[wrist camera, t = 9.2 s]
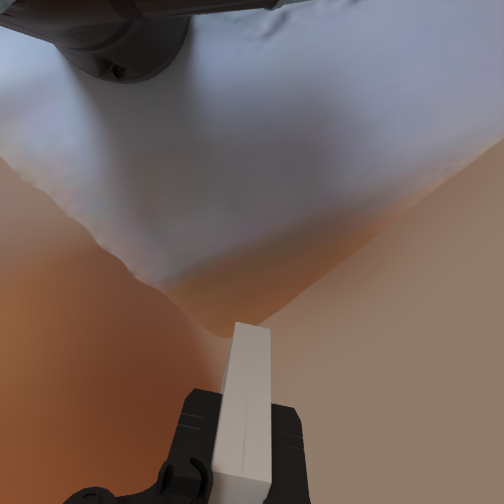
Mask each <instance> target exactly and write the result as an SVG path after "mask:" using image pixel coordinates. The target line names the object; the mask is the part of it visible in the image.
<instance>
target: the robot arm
mask: <svg viewBox="0 0 504 504" xmlns="http://www.w3.org/2000/svg"><path fill="white" fill-rule="evenodd" d="M304 1H310V0H0V26H2V27H5V28H8V29H11V30H14V31H17V32H20V33H23V34H26V35H29V36H32V37H35V38H38V39H41V40H44V41H47V42H50V43H53V44H54V46H55V47H56V48H57V49H58V50H59V51H60V52H61V53H62V54H63V55H64V56H65V57H66V58H67V59H68V60H69V61H70V62H71V63H72V64H74V65H75V66H76V67H78V68H79V69H81V70H83V71H84V72H86V73H88V74H90V75H92V76H94V77H97V78H100V79H103V80H107V81H111V82H116V83H126V84H128V83H137V82H142V81H145V80H148V79H150V78H152V77H154V76H156V75H157V74H159V73H160V72H162V71H163V70H164V69H165V68H166V67H167V66H168V65H169V64H170V63H171V62H172V61H173V60H174V58H175V57H176V55H177V54H178V52H179V50H180V48H181V46H182V44H183V42H184V39H185V36H186V33H187V29H188V23H189V16H193V15H202V14H212V13H221V12H230V11H240V10H249V9H259V8H264V9H265V10H268V11H269V10H270V11H273V10H275V9H277V8H280V7H282V6H283V5H285V4H291V3H298V2H304ZM270 346H271V345H270V329H268V328H264V327H259V326H255V325H250V324H245V323H241V322H236V323H235V328H234V332H233V336H232V340H231V344H230V349H229V352H228V356H227V361H226V365H225V369H224V374H223V380H222V385H221V391H220V394H219V393H215V392H210V391H205V390H200V389H196V388H194V390H193V391H192V392H191V393H190V394H189V395H188V396H187V397H186V399H185V401H184V405H183V408H182V412H181V415H180V418H179V422H178V425H177V428H176V432H175V435H174V439H173V442H172V445H171V449H170V452H169V455H168V458H167V460H166V461H165V462H164V463H163V465H162V467H161V469H160V471H159V475H158V480H157V482H156V483H155V484H154V485H152V486H151V487H150V488H148V489H146V490H145V491H143V492H140V493H136V494H133V495H126V496H121V497H115V496H114V495H113V494H112V493H111V492H110V491H109V490H107V489H104V488H100V487H90V488H84V489H82V490H80V491H78V492H76V493H75V494H73V495H72V496H71V497H69V498H68V500H66V501H65V502H64V503H63V504H311V502H310V498H309V490H308V481H307V472H306V463H305V453H304V443H303V439H302V437H303V434H302V425H301V420H300V418H299V417H298V415H297V413H296V411H295V409H294V408H291V407H286V406H281V405H277V404H272V403H271V349H270V348H271V347H270Z"/></svg>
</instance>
